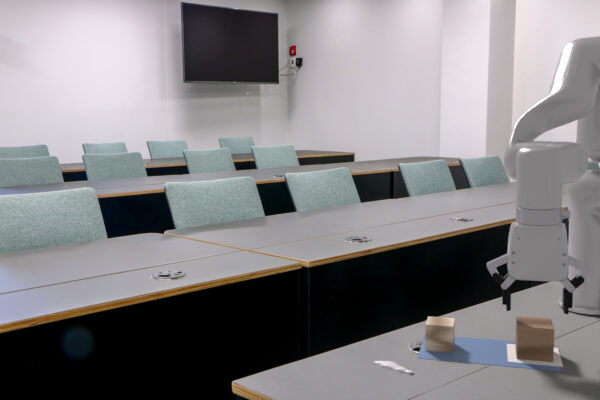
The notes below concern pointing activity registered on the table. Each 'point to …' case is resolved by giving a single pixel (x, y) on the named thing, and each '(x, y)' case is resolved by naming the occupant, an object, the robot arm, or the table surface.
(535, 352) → the walnut cube
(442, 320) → the maple cube
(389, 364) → the stylus pen
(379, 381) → the table surface
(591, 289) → the robot arm
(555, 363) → the board
